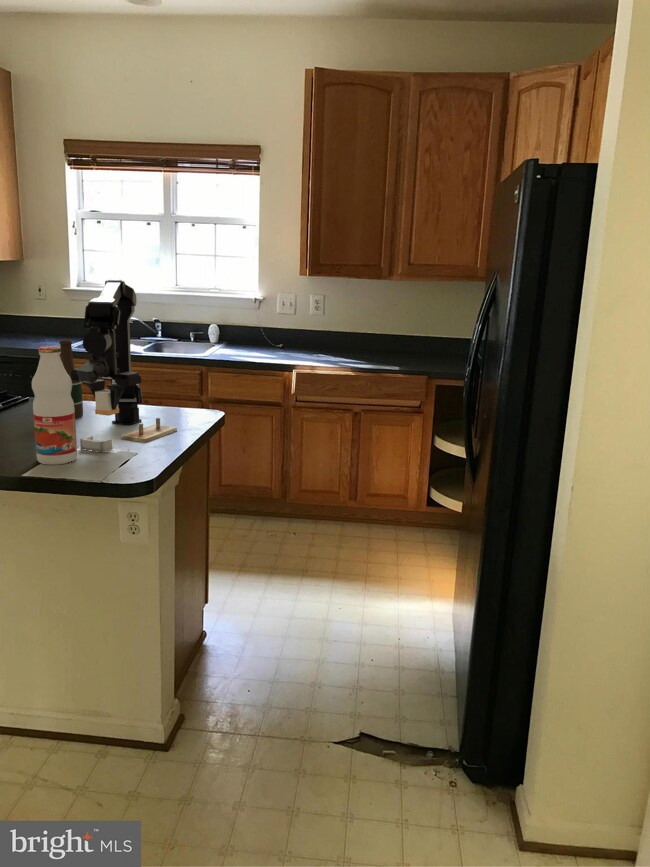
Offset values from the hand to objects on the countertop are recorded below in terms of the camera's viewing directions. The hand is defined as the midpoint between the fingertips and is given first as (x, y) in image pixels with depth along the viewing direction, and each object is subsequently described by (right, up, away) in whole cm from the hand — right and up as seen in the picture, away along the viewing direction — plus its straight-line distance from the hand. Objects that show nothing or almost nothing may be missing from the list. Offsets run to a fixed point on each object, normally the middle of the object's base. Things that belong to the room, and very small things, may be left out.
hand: (107, 408), depth 183 cm
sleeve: (0, -1, 0) cm, 1 cm away
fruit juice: (-9, -13, -12) cm, 20 cm away
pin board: (+8, -7, +14) cm, 18 cm away
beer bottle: (-22, -1, +33) cm, 40 cm away
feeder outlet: (-2, -11, -2) cm, 11 cm away
